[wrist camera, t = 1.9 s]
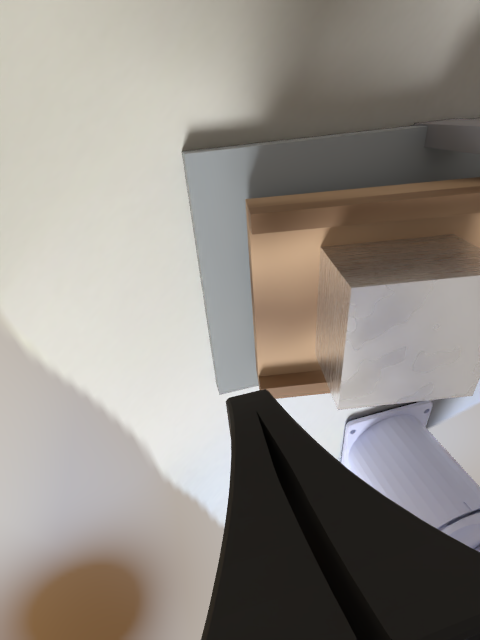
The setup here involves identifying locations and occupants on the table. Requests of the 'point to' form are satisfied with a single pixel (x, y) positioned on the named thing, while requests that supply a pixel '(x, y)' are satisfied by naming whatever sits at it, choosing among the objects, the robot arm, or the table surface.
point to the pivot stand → (288, 179)
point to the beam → (304, 260)
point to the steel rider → (399, 320)
